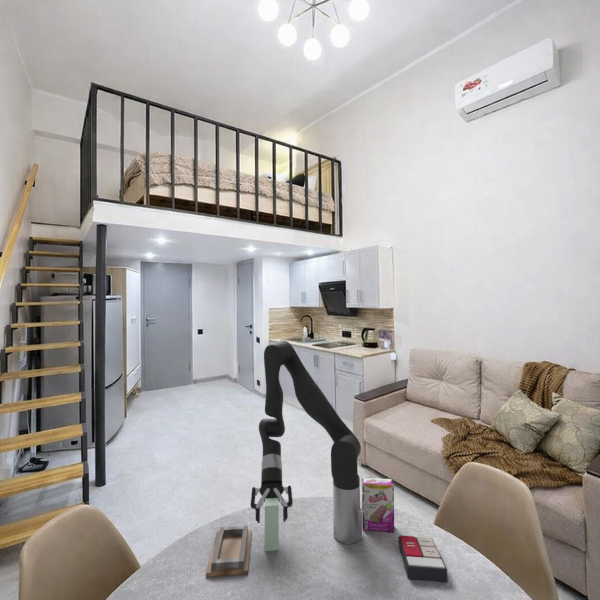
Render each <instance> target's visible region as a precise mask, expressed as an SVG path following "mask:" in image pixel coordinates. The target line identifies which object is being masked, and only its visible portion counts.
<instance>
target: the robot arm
mask: <svg viewBox="0 0 600 600" xmlns="http://www.w3.org/2000/svg"><path fill="white" fill-rule="evenodd" d="M263 365H264V374H265V375H264V377H265V378H264V379H265V403H264V414H266V416H268V417H271V418H263V419H261V420H260V422H259V424H258V431H259V436H260V439H261V444H262V458H261V459H262V461H261V469H260V470H261V475H260V476H261V477H260V479H261V480H260V481H261V482H260V484H261V485H260V488H259V487H258V488H256V487H255V486H253V487H252V488H251V495H250V496H251V498H250V508H251V509H252V510H255V517H254V518H255V521H256V522H257V524H260V523H261V522H260V521H261V508H262V507H263V505H265V499H268V498H278V500H279V504H280V505H281V507H282V508H283V509H282V515H283V518H282V520H283V523H285V522H286V521H287V520H288V509H289V508H292V507H293V494H292V493H293V492H292V486H291V485H288V486H285V487H284V485H283V461H282V445H281V442H280V441H278V440H275V439H272V438H281V437H283V436H284V434H285V432H286V426H285V421H284V415H283V407H284V405H283V404H284V391H283V388H282V385H281V383H280V369H281V367H282V366H284V368H286V370H287V372H288V373H289V374H290V377H291V379H292V382H293V389H294V394H295V397H296V399H297V401H298V403H299V404H300V406H301V407H302V408H303V410H304V411H305V413H306V414H307V415H308V416H309V417H310V418H312V419H313V420H314V421H315V422H316V423H317V424H319V425H320V426H321V427H322V428H324V429H325V431H326V432H327V434H328V435H329V436H330V438H331V440H332V442H333V443H332V445H331V449H330V466H331V467H330V472H331V477H332V492H333V493H332V495H333V497H332V498H333V500H332V501H333V509H332V510H333V514H332V515H333V537H334V538H335V540H337V541H338V542H340V543H341V544H348V545H349V544H351V545H352V544H355V543H357V542H359V541H363V527H362V507H361V485H360V484H361V481H360V475H359V474H358V470H359V469H358V458H359V456H360V454H361V449H362V448H361V443H360V440H359V438H357V436H356V435H355V434H354V432H353V431H352V430H351V429H350V428H349V427H348V426H347V425H346V423H345V422H344V421H343V420H342V419H341V417H340V416H339V414H338V413H337V411H336V410H335V409H334V407H333V406H332V404H331V403H330V401H329V400H328V398H327V397H326V396H325V394H324V392H323V391H322V390H321V388H320V387H319V385H318V384H317V383H316V381H315V380H314V379H313V377H312V376H311V374H310V372H309V371H308V369H307V368H306V367H305V366H304V364H303V362H302V360H301V358H300V357H299V355H298V353H297V351H296V350H295V348H294V347H293V345H292V344H291V343H290V342H288V341H287V340H278V341H276V342H272V343H270V344H268V345H267V346H266V347H265V349H264V352H263ZM283 493H285V494H286V495H287V497H288V498H287V499H288V501H286V500H285V498H284V497H283ZM258 494H260V495H261V497H260V498H259V500H258V502H257V503H256V497H257V496H258Z"/></svg>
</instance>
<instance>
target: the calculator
mask: <svg viewBox="0 0 600 600" xmlns="http://www.w3.org/2000/svg"><path fill="white" fill-rule="evenodd" d="M398 548H399V552H400V555H401V559H402V562H403V566H404V570H405V573H406V577H407V579H408V580H410V581H411V580H412V581H420V580H421V581H420V582H431V581H432V583H433V581H434V582H435V583H445V584H447V583H448V582H449V581H448V569H447V566H446V564H445V563H444V560H443V558H442V556H441V554H440V552H439V550H438V548H437V545H436V544H435V542H434V539H433V538H432V537H429V536H416V537H415V536H413V535H400V536H398ZM422 580H423V581H422Z"/></svg>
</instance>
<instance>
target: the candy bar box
mask: <svg viewBox="0 0 600 600" xmlns="http://www.w3.org/2000/svg"><path fill="white" fill-rule="evenodd" d="M361 510H362V531H370V532H384V533H395V485H394V482H393V479H391V478H381V477H380V478H377V477H361Z"/></svg>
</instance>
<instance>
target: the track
mask: <svg viewBox="0 0 600 600" xmlns="http://www.w3.org/2000/svg"><path fill="white" fill-rule="evenodd" d="M252 533H253V532H252V529H249V527H248V525H237V526H222V527H221V526H220V527H219V530H218V531H216V533H215V538H214V541H213V546H212V549H211V553H210V556H209V561H208V565H207V568H206V573H205V577H206V578H212V577H224V576H225V577H226V576H227V577H228V576H239V575H240V576H242V575H248V574H249V563H250V555H251V553H250V552H251V545H252V544H251V543H252Z"/></svg>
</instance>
